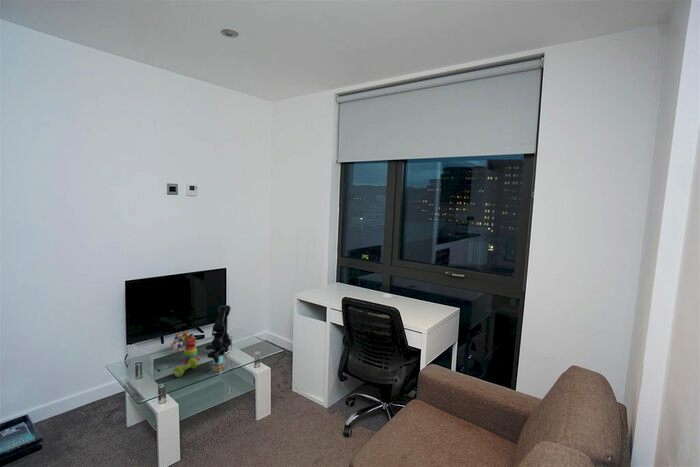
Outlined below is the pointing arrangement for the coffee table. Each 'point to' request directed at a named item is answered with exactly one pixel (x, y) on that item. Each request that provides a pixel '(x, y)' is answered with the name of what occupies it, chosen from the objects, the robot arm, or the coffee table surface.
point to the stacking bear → (190, 350)
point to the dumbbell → (185, 367)
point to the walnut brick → (217, 367)
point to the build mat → (214, 372)
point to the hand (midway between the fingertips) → (218, 361)
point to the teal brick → (218, 360)
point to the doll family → (178, 342)
